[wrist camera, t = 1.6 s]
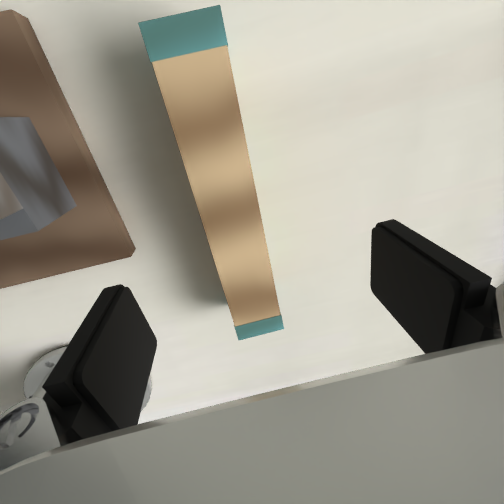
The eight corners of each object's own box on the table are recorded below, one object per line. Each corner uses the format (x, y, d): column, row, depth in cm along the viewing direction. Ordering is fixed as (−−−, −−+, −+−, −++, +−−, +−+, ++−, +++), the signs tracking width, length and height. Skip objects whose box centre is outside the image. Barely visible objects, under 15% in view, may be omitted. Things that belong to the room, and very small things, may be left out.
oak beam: (272, 294, 28) (283, 328, 23) (234, 304, 28) (238, 340, 23) (217, 34, 18) (220, 4, 13) (156, 47, 17) (138, 22, 13)
